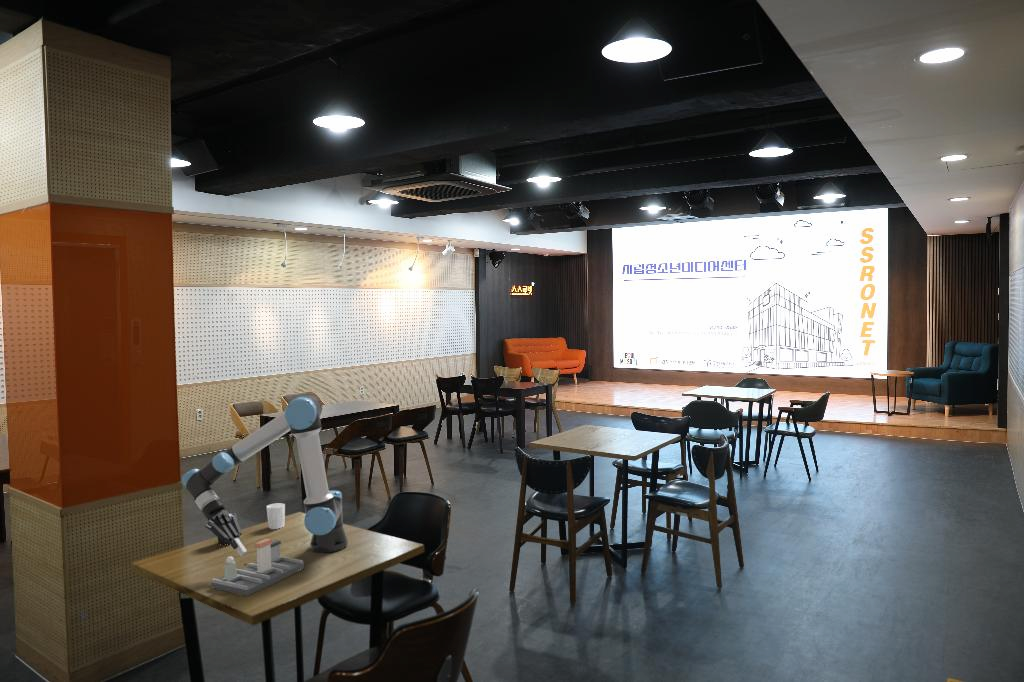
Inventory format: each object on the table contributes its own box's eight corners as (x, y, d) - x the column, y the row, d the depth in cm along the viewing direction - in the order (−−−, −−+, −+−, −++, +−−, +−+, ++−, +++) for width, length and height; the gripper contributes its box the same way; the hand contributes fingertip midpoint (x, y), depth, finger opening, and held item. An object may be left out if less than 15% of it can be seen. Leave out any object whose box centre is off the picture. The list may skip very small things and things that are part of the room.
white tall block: (254, 574, 251) (253, 543, 250) (266, 569, 256) (265, 538, 255) (262, 576, 249) (261, 544, 248) (274, 570, 254) (273, 539, 253)
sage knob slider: (221, 581, 245) (220, 558, 244) (232, 576, 249) (231, 553, 249) (229, 583, 243) (228, 559, 243) (240, 578, 247) (239, 555, 247)
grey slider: (264, 562, 262) (263, 544, 262) (275, 557, 267) (274, 539, 267) (271, 564, 260) (271, 545, 260) (282, 559, 265) (282, 540, 265)
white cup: (271, 524, 318) (270, 503, 318) (288, 524, 318) (287, 502, 317) (264, 530, 310) (263, 508, 310) (282, 529, 310) (281, 507, 309)
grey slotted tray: (211, 587, 246) (210, 578, 246) (269, 561, 270) (269, 553, 270) (247, 595, 238) (247, 586, 237) (304, 568, 262) (303, 560, 261)
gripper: (219, 506, 270) (252, 554, 264) (191, 515, 259) (224, 565, 252) (228, 494, 268) (262, 542, 261) (200, 503, 256) (234, 553, 250)
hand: (243, 553), depth 257 cm, fingers closed
